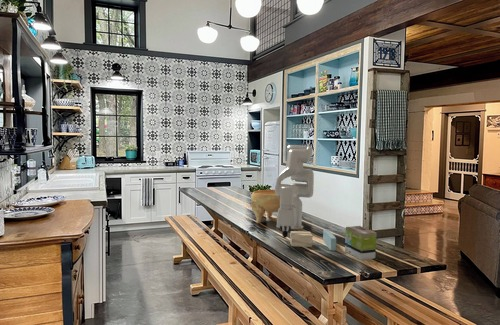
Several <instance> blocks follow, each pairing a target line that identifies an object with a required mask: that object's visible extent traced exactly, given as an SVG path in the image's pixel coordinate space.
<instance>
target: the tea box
mask: <svg viewBox="0 0 500 325" xmlns="http://www.w3.org/2000/svg"><path fill="white" fill-rule="evenodd" d="M377 235H378V234H377V232H376V231H373V230H371V229H369V228H366V227H363V226H361V225H356V226H355V225H353V226H346V227H345V236H344V238H345V241H344V252H345V253H348V254H350V255H351V256H353V257H355V258H356V259H358V260H360V261H362V260H363V261H364V259H365V260H371V259H376V251H377V250H376V249H377V237H378V236H377Z"/></svg>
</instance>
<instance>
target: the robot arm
mask: <svg viewBox="0 0 500 325" xmlns="http://www.w3.org/2000/svg"><path fill="white" fill-rule="evenodd" d="M286 154H287V156H286V162H285V168H284V170H282V171H281V172H280V173H279V174H278V176H277V178H276V180H275V185H274V190H275V194H276V195H277V196H280V208H279V209H278V212H277V214H276V216H277V217H276V228H278V229H280V230H281V231H282V237H283V238H284V239H287V237H288V236H289V235H288V234H289V233H288V232H289V231H290V230H303V229H304V225H303V224H302V220H303V219H302V217H303V201H302V199H300V198H309V199H310V198H312V197H313V195H314V179H315V178H314V176H315V175H314V174H315V173H314V171H313V169H311V168H304V163H309V162H310V160H311V158H312V156H313V148H312V147H311V145H299V144H297V145H296V144H290V145H287V146H286ZM289 177H290V179H291V181H292V182H294V183H290V184H287V183H286V184H285V183H282V182H283V181H284V180H285V179H287V178H289Z"/></svg>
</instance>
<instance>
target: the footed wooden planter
mask: <svg viewBox="0 0 500 325" xmlns="http://www.w3.org/2000/svg"><path fill="white" fill-rule="evenodd" d="M250 200H251V204H250V208H251V209H252V213H254V216H255V218H256V220H255V221H256V223H257V224H261V222H262V221H263V220H262V219H263V217H264V215H265V214H266V217H267V218H271V217H272V216H273V213H278V209H279V208H280V196H277V195H276V194H275V189H261V190H259V189H258V190H255V191H254V190H253V191H252V193H251V194H250Z"/></svg>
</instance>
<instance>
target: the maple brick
mask: <svg viewBox="0 0 500 325" xmlns="http://www.w3.org/2000/svg"><path fill="white" fill-rule="evenodd" d="M289 235H290V236H289V237H290V238H289V243H290V245H291V247H304V248H305V247H307V248H308V247H310V248H311V247H313V234H312V233H311V231H293V230H291V231H290V234H289Z"/></svg>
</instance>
